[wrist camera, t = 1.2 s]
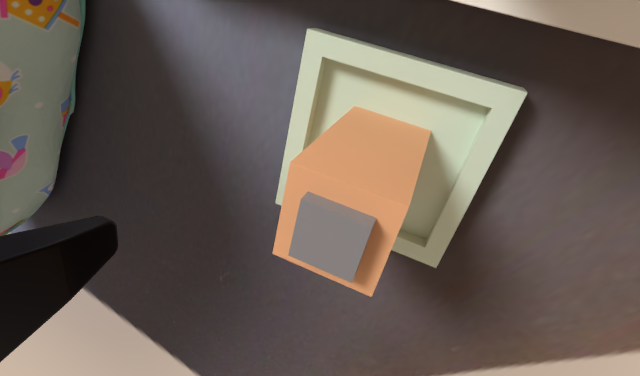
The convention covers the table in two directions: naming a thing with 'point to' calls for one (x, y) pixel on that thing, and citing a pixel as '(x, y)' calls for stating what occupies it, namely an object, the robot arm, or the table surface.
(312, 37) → the tray
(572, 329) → the table surface
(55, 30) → the lunch box
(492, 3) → the outlet strip
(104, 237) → the robot arm
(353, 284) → the plug
